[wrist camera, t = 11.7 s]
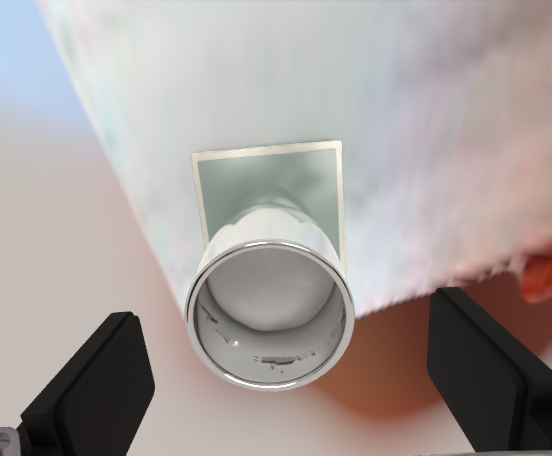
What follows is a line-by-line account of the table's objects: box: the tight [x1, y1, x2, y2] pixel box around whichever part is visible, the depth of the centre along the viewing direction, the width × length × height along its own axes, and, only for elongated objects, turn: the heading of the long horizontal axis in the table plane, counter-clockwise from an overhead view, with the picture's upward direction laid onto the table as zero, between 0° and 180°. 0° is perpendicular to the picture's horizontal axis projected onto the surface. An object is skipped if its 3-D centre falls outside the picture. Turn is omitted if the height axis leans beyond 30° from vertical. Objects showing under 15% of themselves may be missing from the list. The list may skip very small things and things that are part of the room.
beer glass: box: [185, 186, 355, 392], centre depth 20 cm, size 7×7×15 cm
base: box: [191, 140, 346, 279], centre depth 29 cm, size 12×12×4 cm
